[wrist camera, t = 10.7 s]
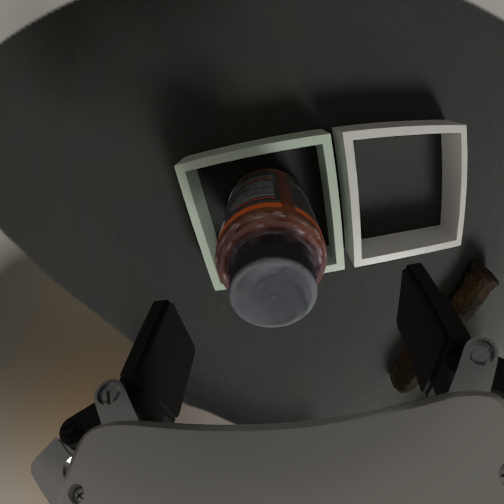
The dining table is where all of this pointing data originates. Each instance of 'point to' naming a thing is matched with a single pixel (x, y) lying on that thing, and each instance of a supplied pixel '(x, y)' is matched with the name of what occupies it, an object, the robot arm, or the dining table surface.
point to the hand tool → (465, 306)
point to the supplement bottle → (270, 249)
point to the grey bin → (452, 191)
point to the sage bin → (191, 163)
